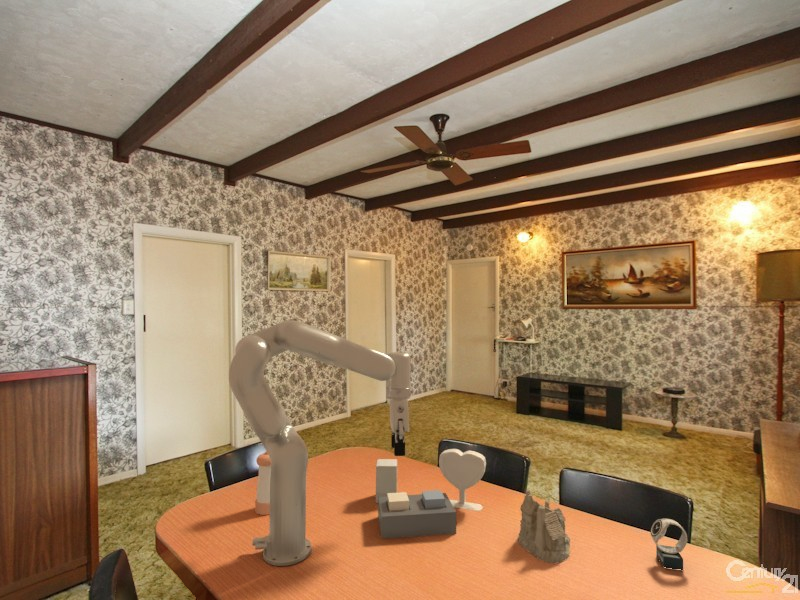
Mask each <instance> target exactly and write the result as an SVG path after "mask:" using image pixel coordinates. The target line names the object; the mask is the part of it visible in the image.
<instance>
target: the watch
mask: <svg viewBox="0 0 800 600" xmlns="http://www.w3.org/2000/svg"><path fill="white" fill-rule="evenodd" d="M670 525H673V526H677V527H678V528H680V530H681V531H682V532H681V535H680V537H679V540H678V541H677V542H676V544H675V546H671V545H670V546H669V545H661V544H659V543H658V542H659V541H660V540H661V539H662V538H664V537H665V534H666V532H667V529H668V527H670ZM650 536H651V538H652V540H653V543H654V544H655V546H656V557H658V558H659V560H660V561H659V560H658V561H659V563H660V562H661V563H662V565H663V566H664V567H666V568H672V569H681V570H683V571H684V558H683V556H682V555H681V554H680V553H682V551H683V550H684V549H685V547H686V546H687V543H688V534H687V531H686V530H685V529H684V527H683V526H681V524H679V522H677V521H676V520H674V519H670V518H658V519H656V520H655V521H654V522H652V525H651V527H650ZM658 558H657V559H658ZM661 563H660V564H661ZM662 565H661V566H662ZM663 566H662V567H663Z"/></svg>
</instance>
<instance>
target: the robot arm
mask: <svg viewBox="0 0 800 600" xmlns="http://www.w3.org/2000/svg"><path fill="white" fill-rule="evenodd" d="M287 351H290V352H292V353H295V354H298V355H300V356H304V357H306V358H309V359H312V360H315V361H318V362H320V363H324V364H326V365H330V366H333V367H336V368H341V369H344V370H348V371H351V372H354V373H357V374H360V375H363V376H366V377H368V378H371V379H374V380H376V381H380V382H385V387H386V388H385V398H386V399H388V400H389V425H390V428H391V444H390V445H391V448H392V449H394V450H393V452H394V454H393V455H394V457H403V456H406V440H405V439H406V438H405V437H406V436H405V432H406V433H409V432H410V420H409V419H410V418H409V417H410V416H409V415H410V413H409V401H408V400H409V399H411V362H412V361H411V355H410V354H409V353H407V352H401V351H396V352H393V351H392V352H388V353H387V352H385V353H383V352H379V351H377V350H375V349H372V348H369V347H367V346H363V345H361V344H358V343H356V342H353V341H351V340H349V339H347V338H344V337H342V336H339V335H336V334H334V333H331V332H328V331H326V330H323V329H321V328H317V327H315V326H313V325H311V324H307V323H305V322H302V321H298V320H292V319H291V320H284V321H282V322H279V323H277V324H274V325H272V326H269V327H267V328H263V329H261V330H258V331H256V332H254V333H253V332H252V333H251V334H248V335H245V336H244V337H242V338H240V339H239V340H238V342H237V343H236V346H235V350H234V352H235V353H234V356H233V358H232V359H231V362H230V365H229V369H228V382H229V387H230V389H231V392H232V393H233V396H234V397H235V399H236V401H237V402H238V405H239V406H240V408H241V410H242V412H243V413H244V416H246V418H247V420H248V425H250V427H251V429H252V430H253V432H254V433H255V434H256V435H257V437H258V440H260V442H261V444H262V446H263V447H264V449H265V451H267V452H268V454H269V457H270V459H271V476H270V514H269V534H268V535H265V536H264V537H262V536H261V537H259V536H258V537H253V538H252V544H251V545H252V546H255V547H254V550H262V549H263V550H262V551H263V552H262V559H263V561H265V562H266V563H267V564H269V565H273V566H277V567H283V566H284V567H285V566H286V567H287V566H291V565H294V564H298V563H300V562H302V561H303V560H305V559H307V558H308V556H309V555H310V554H311V551H312V543H311V541H310V540H309V539H307V538H306V529H307V528H306V525H307V524H306V520H307V519H306V517H307V511H306V510H307V472H308V471H307V470H308V463H309V453H308V452H309V451H308V447H307V444H306V443H305V441H304V439H303V438H302V437H301V435H299V434H298V432H297V431H296V429H295V428H294V426H293V424H292V423H291V421H290V419H289V417H288V416H287V414H286V411H285V408H284V406H283V405H282V404H281V403H280V402H279V401H278V399H277V398H276V396H275V395H274V392H273V391H272V390H271V388H270V386H269V384H268V381H267V380H266V378H265V373H264V372H265V367H266V366H267V364H268V362H269V361H270V359H271V358H273V357H276V356H278V355H280V354H283V353H285V352H287Z"/></svg>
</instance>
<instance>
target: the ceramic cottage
mask: <svg viewBox="0 0 800 600" xmlns="http://www.w3.org/2000/svg"><path fill="white" fill-rule="evenodd" d="M519 509H520V511H521V520H520V521H519V522H520V530H519V533H518V543H519V545H520V546H521V547H522V548H524V549H525V550H526V551H527V552H529V553H530V554H531V555H533V556H534V557H535V558H537V560H539V561H541V562H544V563H549V564H558V563H557V562H559V563H562V562H564V561H563V560H565V559H566V560H568V559H569V558H570V555H569V553H570V551H569V548H570V549H571V546H570V545H571V539H570V537H569V535H568V534H567V532H566V523H565V522H566V521H567V520H566V517H565V516H564V513H563V512H562V511H563V510H562V509H561V508H560V507H557V508H552V509H551V507H550V501H549V500H545V501H544V505H543V504H542V503H539V502H538V501H537V500H534V498H533V495H532V494H531V491H530V489H526V490H525V495H524V499H523V502H522V504H521V505H520V508H519ZM568 557H569V558H568ZM567 558H568V559H567ZM566 560H565V561H566ZM561 561H562V562H561Z"/></svg>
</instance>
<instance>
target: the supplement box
mask: <svg viewBox="0 0 800 600" xmlns="http://www.w3.org/2000/svg"><path fill="white" fill-rule="evenodd" d="M376 460H377V461H376V466H375V504H378V497H384V496H387V493H398V459H396V458H384V459H383V458H382V459H381V458H379V459H376Z"/></svg>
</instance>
